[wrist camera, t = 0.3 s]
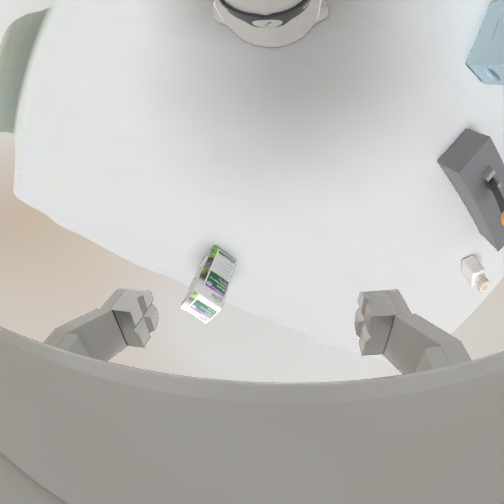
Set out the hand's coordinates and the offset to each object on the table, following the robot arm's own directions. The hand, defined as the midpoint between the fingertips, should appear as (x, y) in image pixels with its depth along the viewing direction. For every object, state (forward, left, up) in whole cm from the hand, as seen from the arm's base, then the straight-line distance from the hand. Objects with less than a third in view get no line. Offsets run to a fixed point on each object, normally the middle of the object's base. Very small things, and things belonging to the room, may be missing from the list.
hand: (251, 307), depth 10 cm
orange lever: (+1, +37, -30) cm, 48 cm away
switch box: (+4, +41, -39) cm, 57 cm away
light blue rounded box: (-29, +43, -39) cm, 65 cm away
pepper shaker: (+23, +45, -39) cm, 64 cm away
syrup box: (+24, -13, -39) cm, 48 cm away
